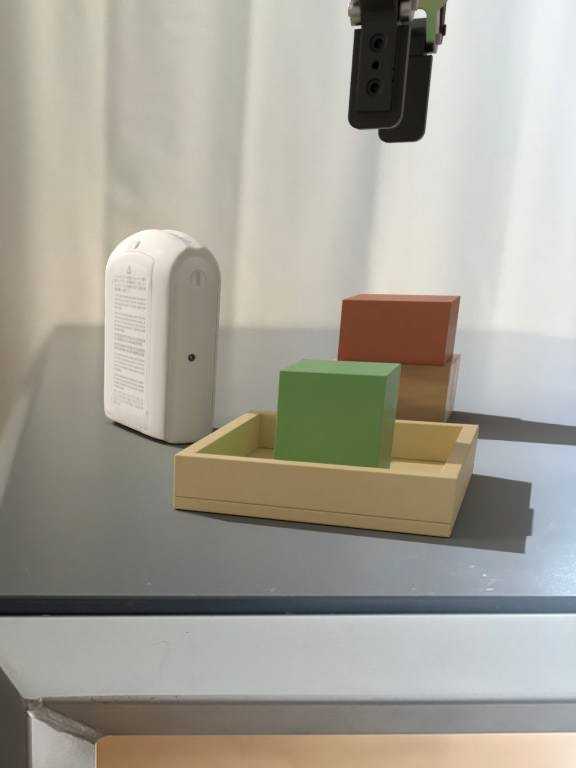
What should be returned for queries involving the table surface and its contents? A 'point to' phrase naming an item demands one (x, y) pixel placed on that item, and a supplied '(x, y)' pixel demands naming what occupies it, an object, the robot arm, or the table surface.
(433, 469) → the tray
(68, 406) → the table surface
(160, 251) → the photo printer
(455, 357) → the base block
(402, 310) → the middle block
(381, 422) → the green block
